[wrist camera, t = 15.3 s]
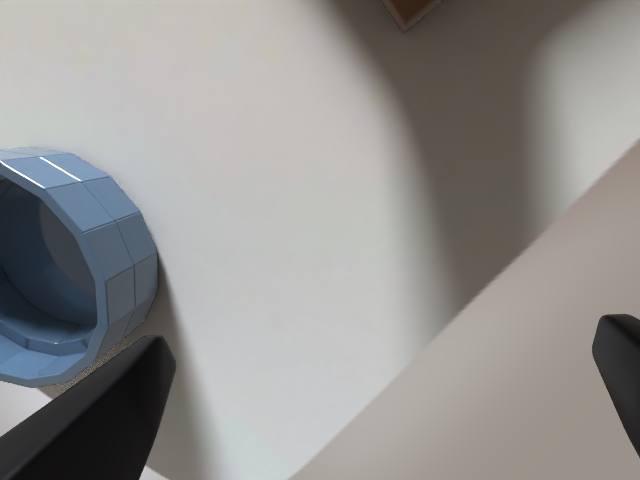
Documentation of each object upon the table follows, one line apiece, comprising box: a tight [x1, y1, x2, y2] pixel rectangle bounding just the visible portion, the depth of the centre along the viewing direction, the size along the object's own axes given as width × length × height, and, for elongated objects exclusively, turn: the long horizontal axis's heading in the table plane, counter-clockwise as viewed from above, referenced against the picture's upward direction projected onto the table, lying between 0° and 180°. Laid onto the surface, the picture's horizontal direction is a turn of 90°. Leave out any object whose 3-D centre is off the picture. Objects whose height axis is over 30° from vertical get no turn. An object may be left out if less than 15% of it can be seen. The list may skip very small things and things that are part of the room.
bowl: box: [0, 147, 158, 388], centre depth 21 cm, size 12×12×4 cm
